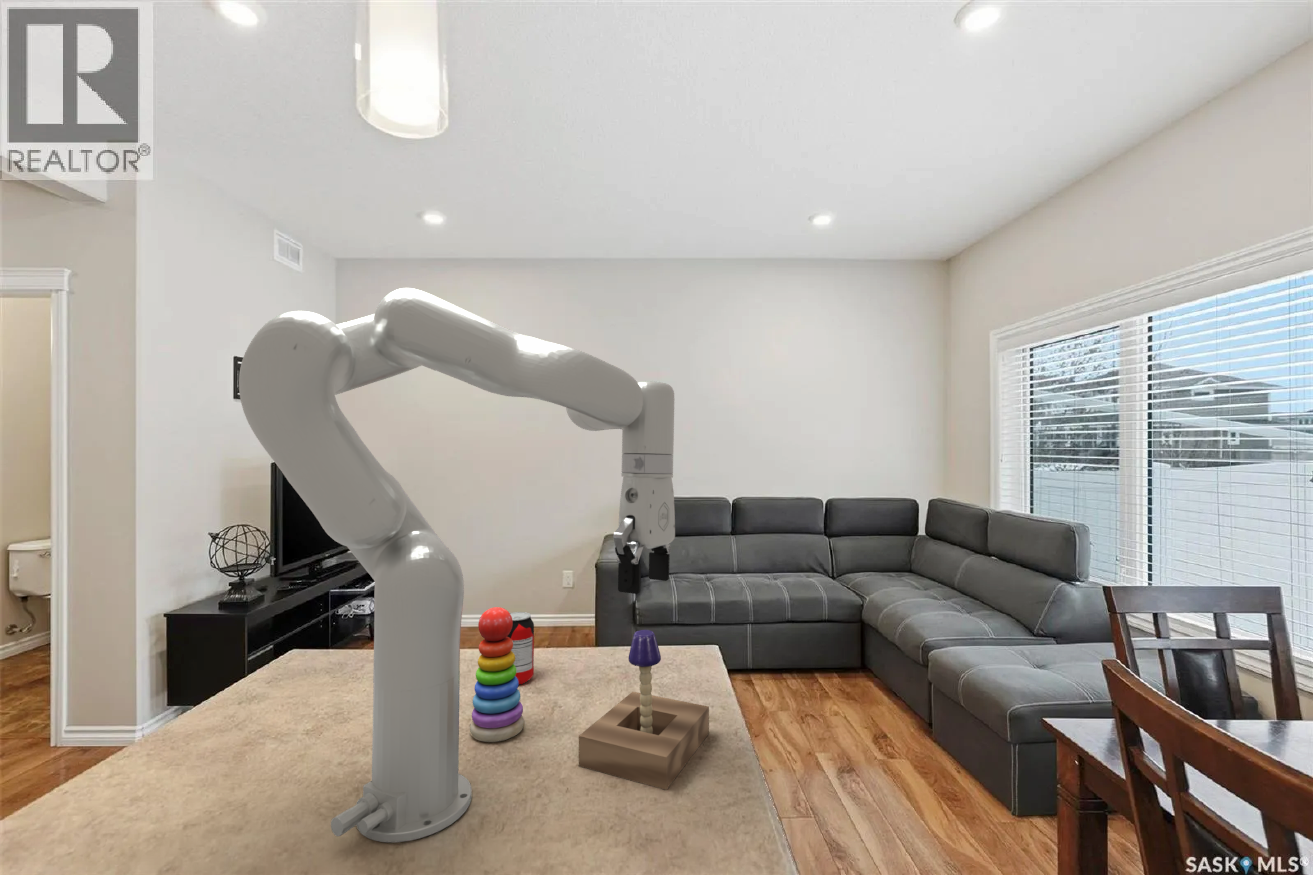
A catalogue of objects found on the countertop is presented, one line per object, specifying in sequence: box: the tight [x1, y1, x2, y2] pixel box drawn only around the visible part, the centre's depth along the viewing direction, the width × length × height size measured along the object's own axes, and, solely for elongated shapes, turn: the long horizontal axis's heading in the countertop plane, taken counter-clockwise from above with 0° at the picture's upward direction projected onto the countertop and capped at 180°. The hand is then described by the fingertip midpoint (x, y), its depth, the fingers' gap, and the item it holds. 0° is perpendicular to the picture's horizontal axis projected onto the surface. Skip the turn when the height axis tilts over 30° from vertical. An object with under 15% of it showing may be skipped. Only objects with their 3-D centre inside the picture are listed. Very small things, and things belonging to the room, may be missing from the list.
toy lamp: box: [628, 629, 662, 734], centre depth 81 cm, size 5×5×17 cm
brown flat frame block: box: [578, 691, 710, 791], centre depth 81 cm, size 16×13×4 cm
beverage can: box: [507, 611, 535, 685], centre depth 106 cm, size 6×6×12 cm
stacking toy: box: [469, 606, 525, 743], centre depth 86 cm, size 8×8×19 cm
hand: (644, 585), depth 81 cm, fingers open, 9 cm apart
